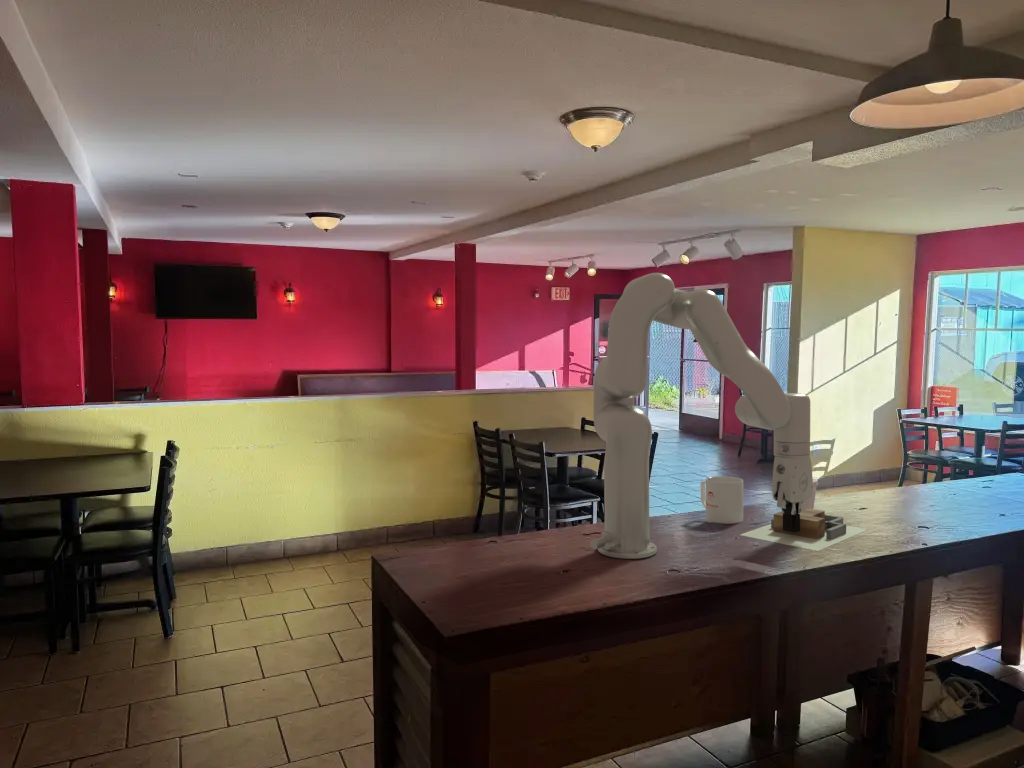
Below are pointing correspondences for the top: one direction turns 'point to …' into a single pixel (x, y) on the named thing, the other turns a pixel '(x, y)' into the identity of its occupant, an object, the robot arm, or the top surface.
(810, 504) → the smoothie
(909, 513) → the top surface
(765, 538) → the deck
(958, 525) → the top surface
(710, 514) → the mug
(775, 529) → the t block
